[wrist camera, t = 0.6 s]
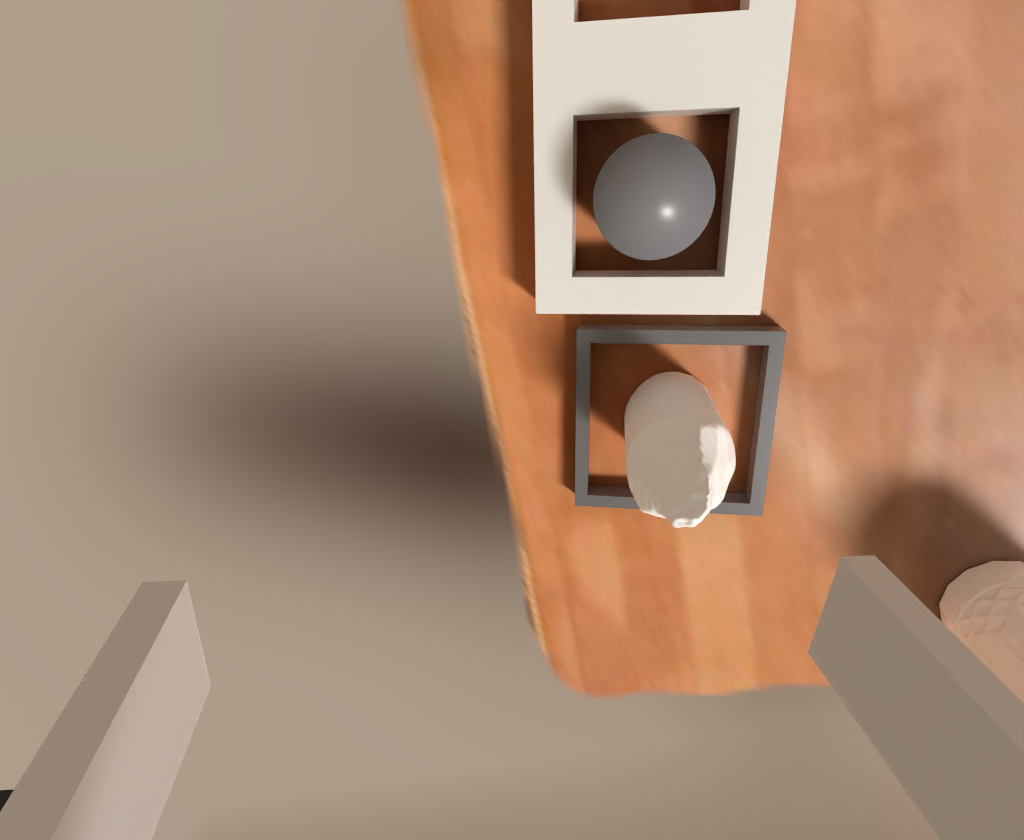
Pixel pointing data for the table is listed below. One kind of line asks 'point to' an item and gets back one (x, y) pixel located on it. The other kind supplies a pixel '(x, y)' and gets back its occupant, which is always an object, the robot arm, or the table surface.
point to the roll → (676, 449)
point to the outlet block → (658, 153)
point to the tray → (682, 334)
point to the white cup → (990, 617)
